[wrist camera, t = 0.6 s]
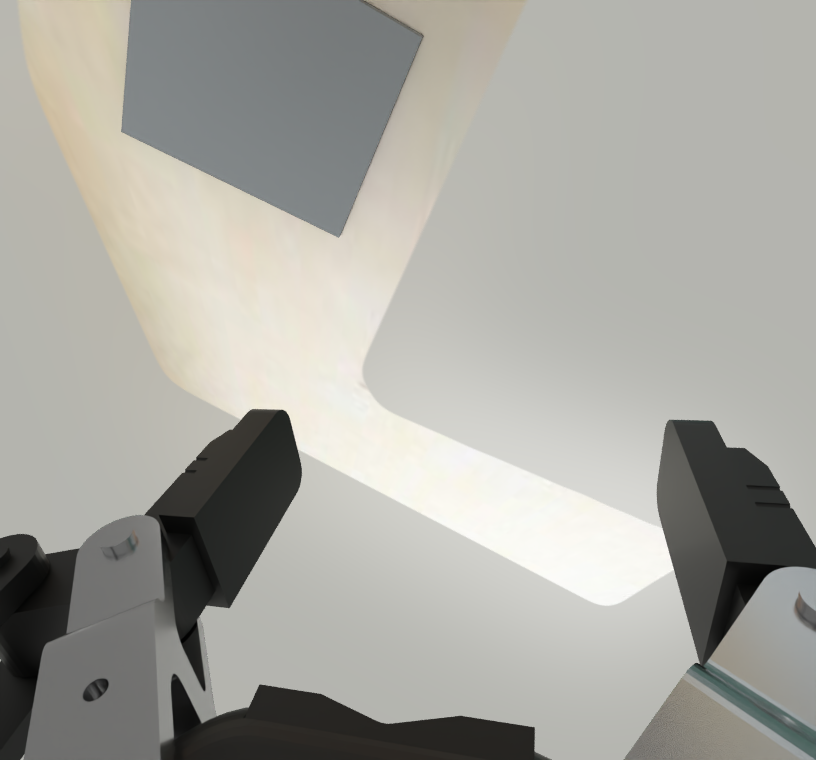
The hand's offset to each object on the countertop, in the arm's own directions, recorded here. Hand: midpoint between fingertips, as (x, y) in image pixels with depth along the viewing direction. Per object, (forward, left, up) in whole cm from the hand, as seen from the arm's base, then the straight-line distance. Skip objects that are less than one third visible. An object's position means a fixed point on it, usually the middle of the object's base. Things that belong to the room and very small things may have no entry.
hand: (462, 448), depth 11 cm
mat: (-13, -6, -28) cm, 31 cm away
